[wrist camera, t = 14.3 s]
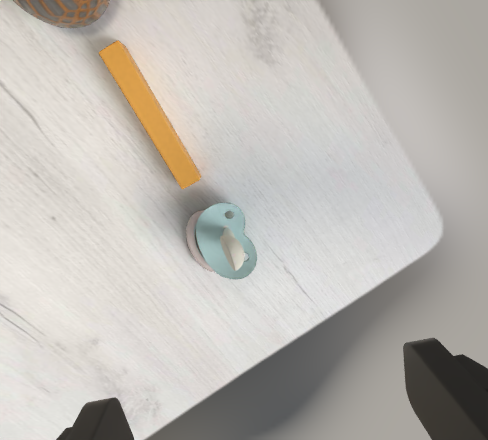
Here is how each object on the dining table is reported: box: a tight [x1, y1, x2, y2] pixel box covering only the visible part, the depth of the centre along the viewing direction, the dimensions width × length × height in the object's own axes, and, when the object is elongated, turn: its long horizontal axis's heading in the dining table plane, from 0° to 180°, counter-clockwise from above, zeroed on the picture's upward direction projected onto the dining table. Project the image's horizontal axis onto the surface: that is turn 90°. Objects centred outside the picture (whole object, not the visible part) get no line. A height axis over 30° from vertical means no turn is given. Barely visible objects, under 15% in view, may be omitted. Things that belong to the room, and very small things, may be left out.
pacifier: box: [186, 203, 257, 279], centre depth 27 cm, size 7×6×6 cm
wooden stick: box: [99, 41, 201, 189], centre depth 26 cm, size 12×2×2 cm, turn 28°
